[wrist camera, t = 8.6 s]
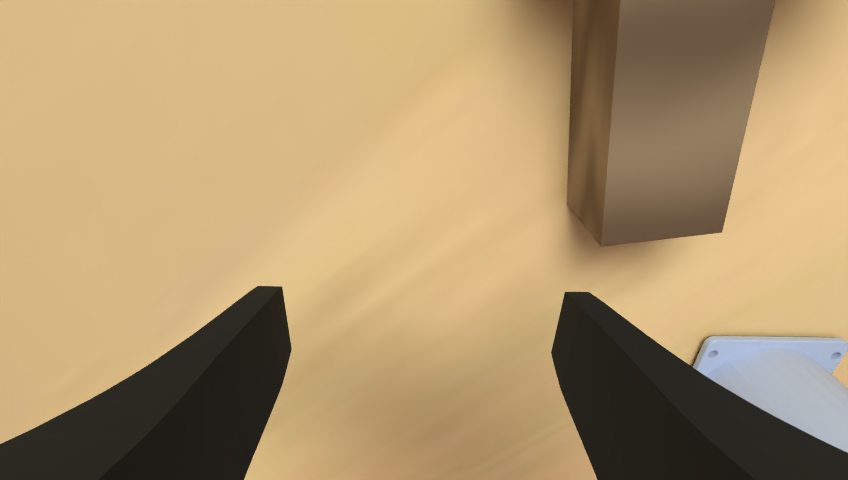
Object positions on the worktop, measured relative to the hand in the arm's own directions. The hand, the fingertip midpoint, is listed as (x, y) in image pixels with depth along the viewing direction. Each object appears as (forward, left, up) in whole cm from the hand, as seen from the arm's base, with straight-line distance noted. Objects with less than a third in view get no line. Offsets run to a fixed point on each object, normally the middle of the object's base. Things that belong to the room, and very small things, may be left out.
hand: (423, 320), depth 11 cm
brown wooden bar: (+7, -8, -10) cm, 14 cm away
